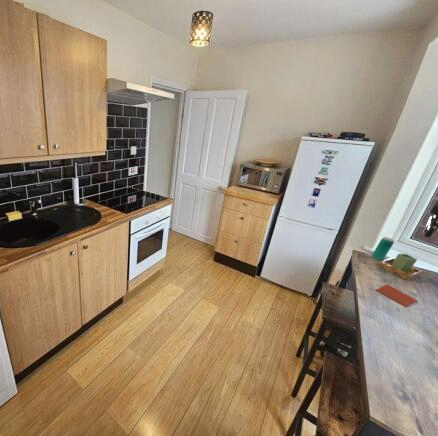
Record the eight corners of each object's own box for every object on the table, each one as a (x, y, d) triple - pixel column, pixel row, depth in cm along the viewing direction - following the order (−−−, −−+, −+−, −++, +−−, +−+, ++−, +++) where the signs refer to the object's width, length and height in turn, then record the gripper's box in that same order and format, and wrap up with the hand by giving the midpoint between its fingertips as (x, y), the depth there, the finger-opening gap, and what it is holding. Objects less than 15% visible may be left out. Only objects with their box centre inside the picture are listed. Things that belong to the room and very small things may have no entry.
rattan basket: (418, 275, 136) (422, 271, 134) (407, 280, 130) (411, 275, 129) (389, 262, 147) (392, 257, 146) (377, 266, 142) (380, 261, 140)
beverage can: (384, 262, 146) (397, 242, 140) (373, 260, 148) (385, 240, 142) (379, 257, 151) (391, 238, 145) (369, 255, 153) (380, 236, 146)
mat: (416, 300, 115) (417, 300, 115) (405, 306, 110) (406, 306, 110) (387, 285, 125) (387, 284, 125) (375, 290, 120) (375, 289, 120)
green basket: (397, 267, 141) (406, 253, 137) (407, 273, 136) (417, 259, 132) (389, 267, 141) (398, 253, 136) (399, 273, 136) (408, 259, 131)
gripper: (458, 211, 110) (437, 241, 116) (454, 207, 119) (435, 235, 125) (434, 206, 115) (416, 235, 121) (432, 202, 124) (415, 229, 130)
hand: (426, 235), depth 123 cm, fingers open, 8 cm apart
